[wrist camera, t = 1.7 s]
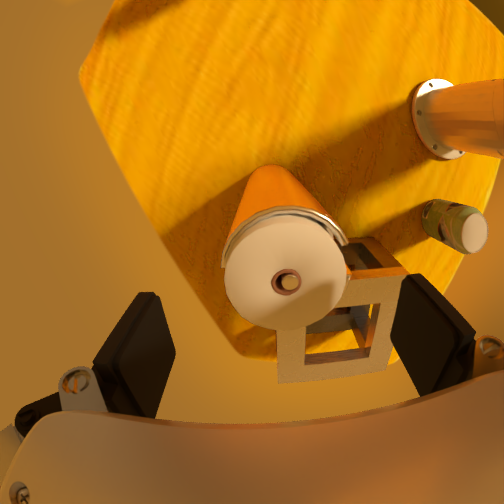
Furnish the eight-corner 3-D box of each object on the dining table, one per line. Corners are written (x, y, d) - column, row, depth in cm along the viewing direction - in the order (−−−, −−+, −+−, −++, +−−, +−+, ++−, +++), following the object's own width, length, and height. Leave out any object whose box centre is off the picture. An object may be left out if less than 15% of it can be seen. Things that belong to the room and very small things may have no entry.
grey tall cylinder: (287, 218, 36) (324, 349, 13) (240, 204, 36) (203, 319, 13) (303, 173, 34) (383, 239, 11) (255, 157, 34) (240, 189, 10)
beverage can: (431, 241, 37) (474, 275, 26) (407, 212, 35) (453, 240, 24) (453, 213, 35) (500, 239, 24) (431, 182, 33) (481, 201, 22)
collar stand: (373, 236, 37) (410, 274, 26) (362, 320, 43) (385, 369, 32) (271, 242, 38) (274, 285, 27) (275, 328, 44) (278, 383, 33)
